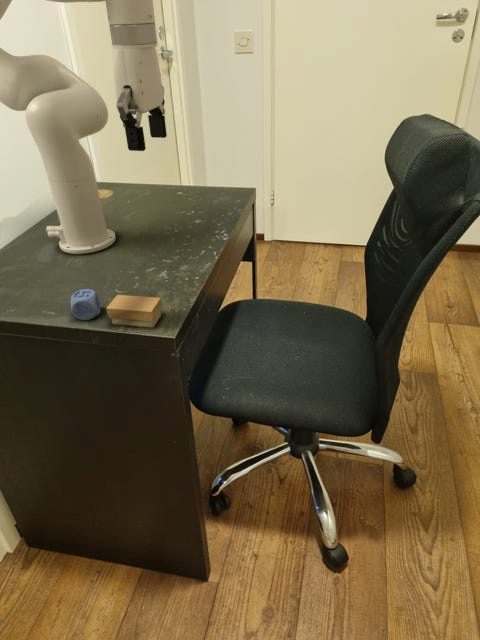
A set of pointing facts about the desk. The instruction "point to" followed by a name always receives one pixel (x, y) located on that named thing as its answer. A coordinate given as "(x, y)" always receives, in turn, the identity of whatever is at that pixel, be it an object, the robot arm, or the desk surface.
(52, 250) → the desk surface
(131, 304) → the tan rectangular brick
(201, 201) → the desk surface
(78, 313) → the decorative dice
